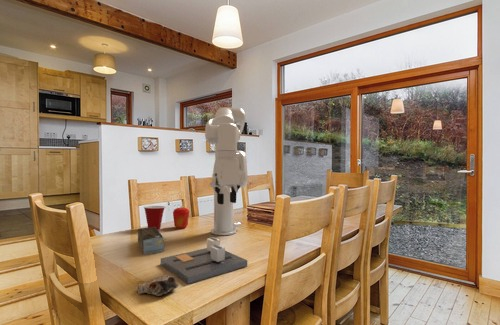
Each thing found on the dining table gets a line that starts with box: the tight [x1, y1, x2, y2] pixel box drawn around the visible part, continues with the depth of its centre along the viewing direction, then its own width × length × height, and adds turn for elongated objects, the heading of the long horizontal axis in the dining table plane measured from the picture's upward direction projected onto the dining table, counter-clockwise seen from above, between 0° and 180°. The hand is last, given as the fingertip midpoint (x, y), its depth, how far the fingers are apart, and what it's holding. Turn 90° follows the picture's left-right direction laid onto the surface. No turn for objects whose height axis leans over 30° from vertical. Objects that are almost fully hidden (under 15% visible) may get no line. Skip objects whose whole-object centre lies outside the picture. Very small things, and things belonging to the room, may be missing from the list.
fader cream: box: [206, 236, 221, 251], centre depth 103 cm, size 3×4×4 cm
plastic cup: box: [143, 205, 166, 231], centre depth 145 cm, size 11×11×12 cm
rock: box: [135, 274, 179, 297], centre depth 76 cm, size 9×6×10 cm
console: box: [160, 247, 248, 285], centre depth 95 cm, size 22×20×2 cm
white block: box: [211, 244, 226, 262], centre depth 94 cm, size 3×4×4 cm
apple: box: [172, 206, 190, 230], centre depth 148 cm, size 9×8×12 cm
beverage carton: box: [137, 226, 165, 255], centre depth 115 cm, size 8×19×7 cm, turn 27°
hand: (226, 202), depth 107 cm, fingers open, 5 cm apart
